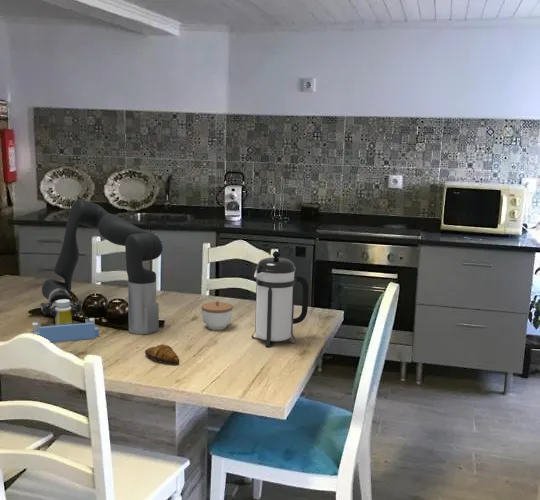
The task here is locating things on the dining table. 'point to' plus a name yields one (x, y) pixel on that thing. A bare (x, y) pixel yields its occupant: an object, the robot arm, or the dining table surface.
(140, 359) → the dining table surface
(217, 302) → the lidded jar
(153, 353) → the croissant
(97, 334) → the blue pegged rail
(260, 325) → the coffee press
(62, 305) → the supplement bottle
